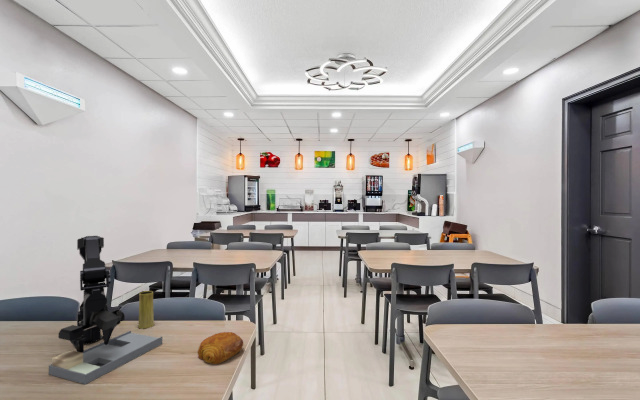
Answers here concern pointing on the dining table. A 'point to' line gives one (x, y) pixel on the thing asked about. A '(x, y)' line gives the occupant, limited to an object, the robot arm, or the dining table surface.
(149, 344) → the box
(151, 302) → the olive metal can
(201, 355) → the croissant
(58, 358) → the beech block
